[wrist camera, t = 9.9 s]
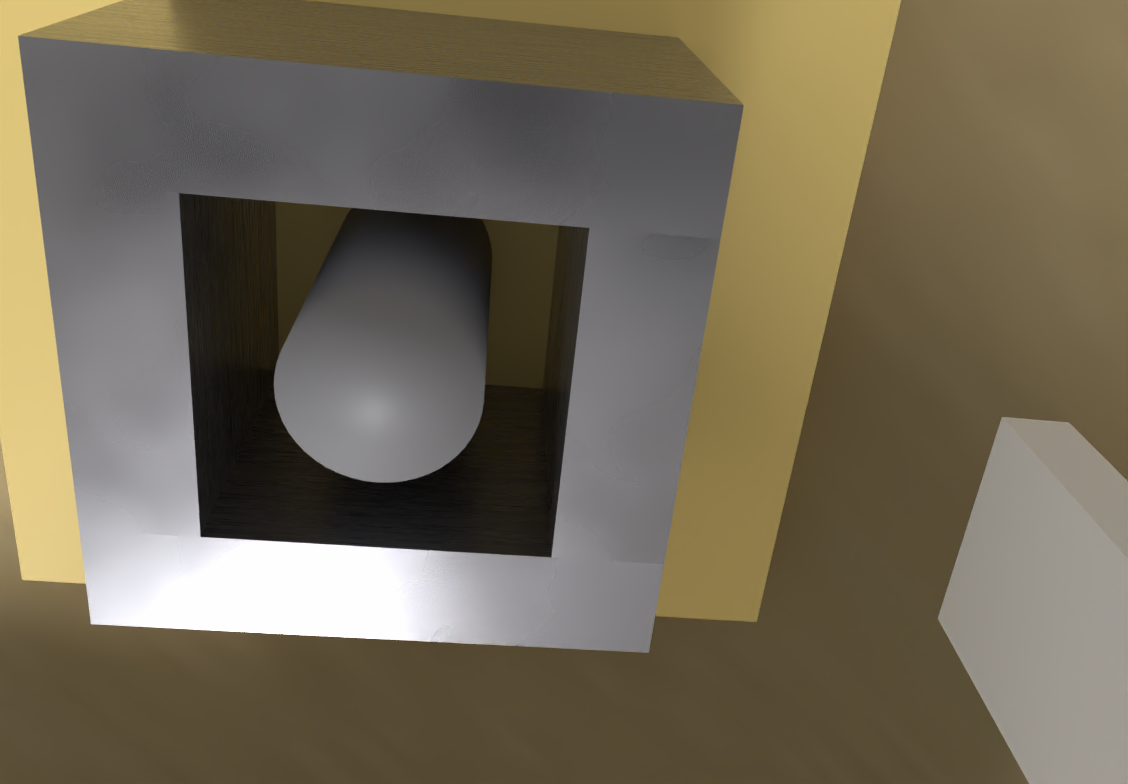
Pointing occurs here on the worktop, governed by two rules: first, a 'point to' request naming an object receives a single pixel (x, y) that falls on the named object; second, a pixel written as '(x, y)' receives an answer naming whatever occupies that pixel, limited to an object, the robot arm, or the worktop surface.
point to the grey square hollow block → (250, 310)
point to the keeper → (512, 293)
